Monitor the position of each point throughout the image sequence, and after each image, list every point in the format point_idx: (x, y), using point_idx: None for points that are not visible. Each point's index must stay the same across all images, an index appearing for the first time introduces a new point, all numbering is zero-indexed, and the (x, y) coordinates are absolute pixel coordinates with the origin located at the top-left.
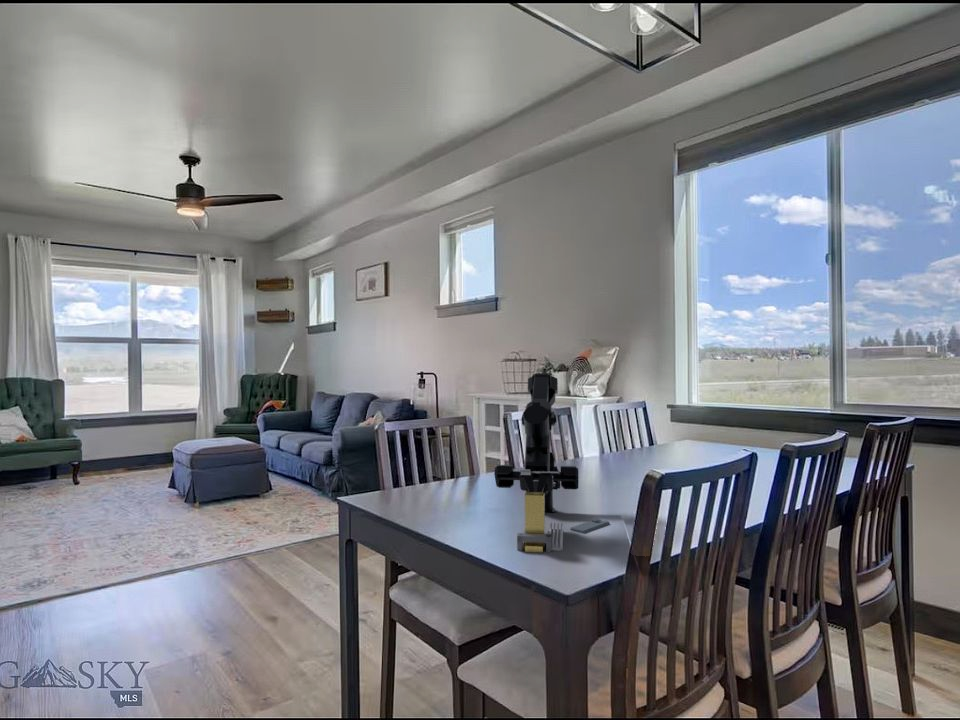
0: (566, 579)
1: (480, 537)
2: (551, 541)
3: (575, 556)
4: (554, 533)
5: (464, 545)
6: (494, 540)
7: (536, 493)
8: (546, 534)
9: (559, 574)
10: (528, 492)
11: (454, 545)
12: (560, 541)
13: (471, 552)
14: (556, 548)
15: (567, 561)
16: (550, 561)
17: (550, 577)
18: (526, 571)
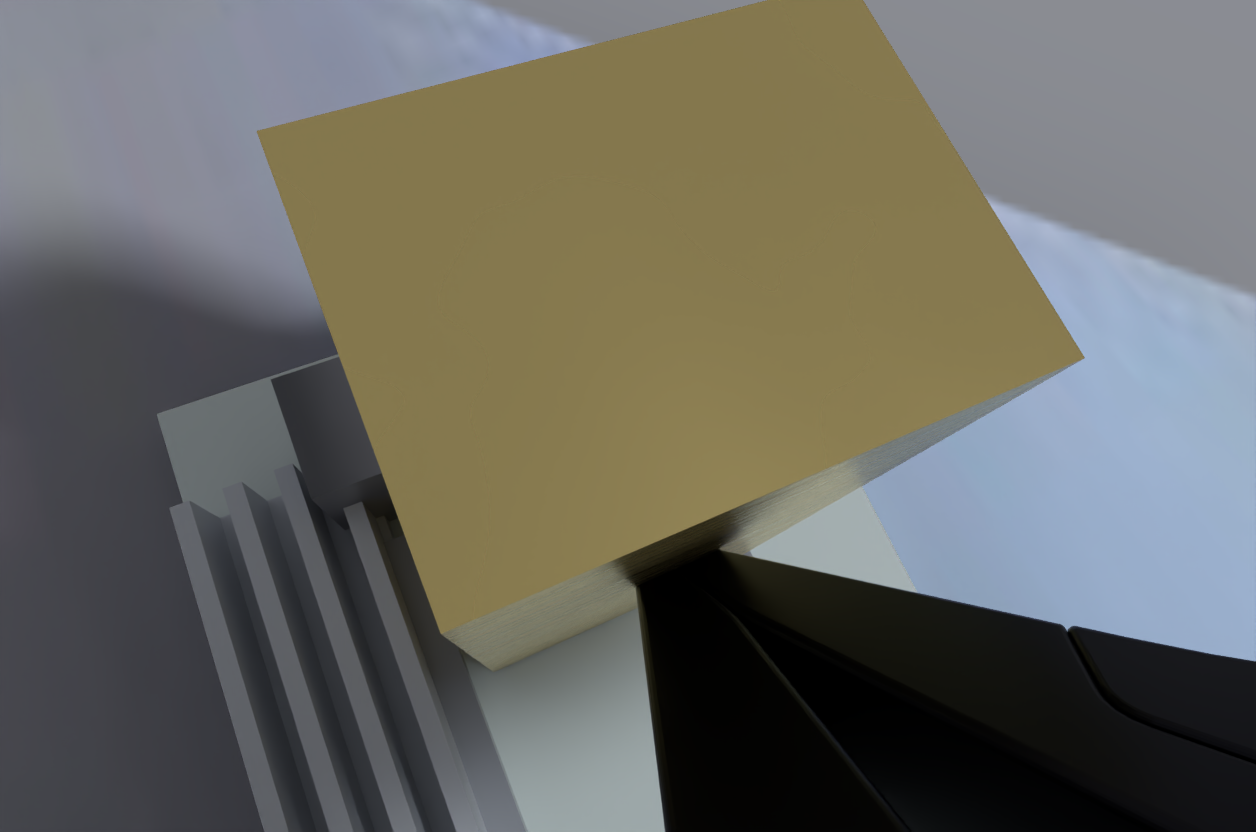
0: (13, 14)
1: (1235, 613)
2: (406, 690)
3: (61, 568)
4: (380, 791)
5: (1171, 337)
6: (1068, 601)
7: (648, 316)
8: (371, 455)
9: (101, 81)
10: (967, 328)
11: (1231, 300)
12: (186, 503)
13: (1005, 218)
14: (267, 501)
15: (112, 387)
16: (281, 315)
17: (159, 6)
18: (392, 41)
